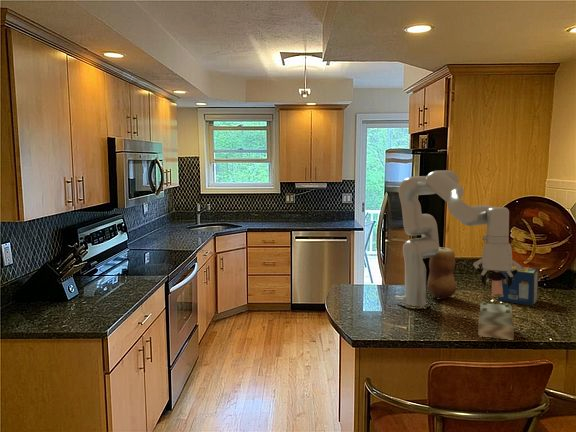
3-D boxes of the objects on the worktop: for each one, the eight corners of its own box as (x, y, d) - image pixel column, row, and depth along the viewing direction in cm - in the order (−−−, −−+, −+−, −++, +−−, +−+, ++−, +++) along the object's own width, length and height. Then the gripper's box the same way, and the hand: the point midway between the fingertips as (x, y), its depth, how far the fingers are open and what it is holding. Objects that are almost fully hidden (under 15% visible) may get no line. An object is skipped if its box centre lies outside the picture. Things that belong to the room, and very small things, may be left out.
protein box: (502, 295, 225) (503, 264, 223) (537, 300, 215) (538, 268, 214) (496, 300, 217) (497, 268, 215) (532, 306, 207) (534, 272, 206)
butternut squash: (459, 302, 216) (460, 250, 213) (431, 302, 216) (431, 250, 214) (449, 294, 230) (450, 245, 227) (423, 294, 230) (423, 245, 227)
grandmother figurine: (503, 294, 175) (503, 261, 174) (508, 296, 171) (509, 263, 170) (483, 294, 175) (484, 262, 173) (488, 297, 171) (488, 264, 170)
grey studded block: (478, 337, 171) (478, 309, 170) (478, 326, 182) (478, 300, 181) (513, 341, 167) (514, 312, 166) (511, 330, 178) (512, 303, 177)
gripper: (472, 240, 171) (471, 286, 172) (524, 242, 164) (523, 290, 166) (472, 237, 178) (471, 281, 179) (522, 239, 171) (521, 285, 173)
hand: (496, 285), depth 173 cm, fingers closed on grandmother figurine, 7 cm apart
